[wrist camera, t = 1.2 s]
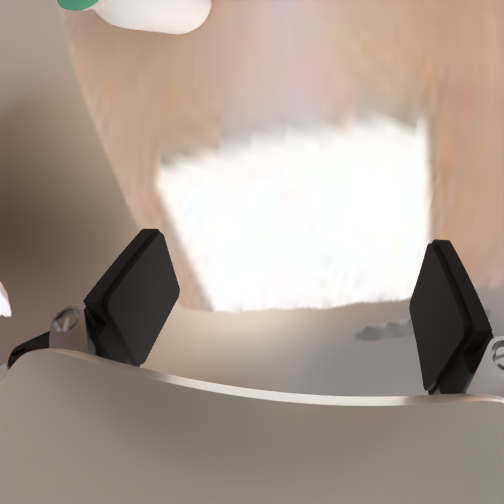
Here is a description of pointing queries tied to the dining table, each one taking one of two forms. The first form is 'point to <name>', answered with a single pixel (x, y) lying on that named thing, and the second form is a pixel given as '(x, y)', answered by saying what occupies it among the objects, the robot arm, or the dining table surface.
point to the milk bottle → (147, 13)
